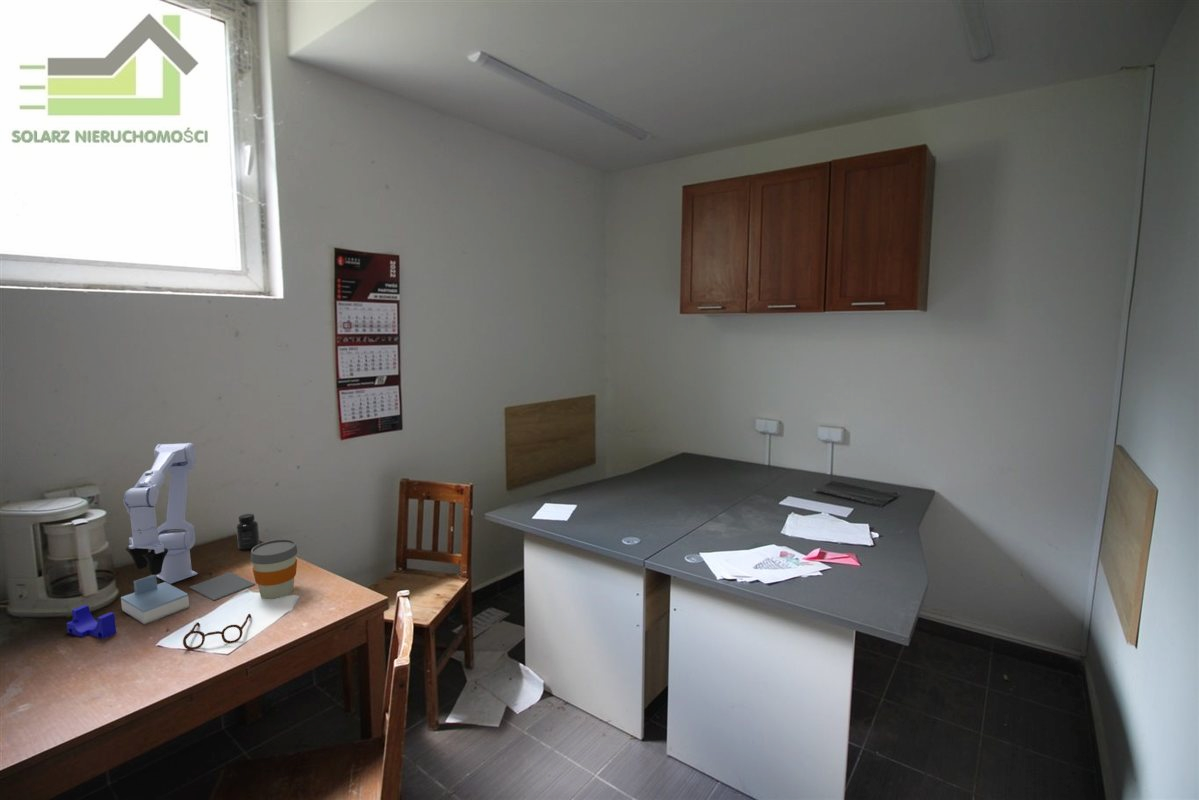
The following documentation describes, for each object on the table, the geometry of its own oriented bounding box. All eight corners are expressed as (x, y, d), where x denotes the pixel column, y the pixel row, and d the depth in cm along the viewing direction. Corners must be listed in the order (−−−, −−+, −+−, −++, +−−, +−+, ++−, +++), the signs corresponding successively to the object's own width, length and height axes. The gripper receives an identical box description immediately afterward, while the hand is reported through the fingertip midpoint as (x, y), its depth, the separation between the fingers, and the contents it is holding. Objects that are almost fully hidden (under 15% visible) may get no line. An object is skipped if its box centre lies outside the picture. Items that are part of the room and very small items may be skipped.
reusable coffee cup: (303, 580, 181) (300, 537, 179) (295, 599, 169) (292, 553, 167) (259, 585, 177) (256, 541, 175) (248, 605, 165) (244, 557, 163)
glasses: (183, 652, 143) (181, 634, 142) (198, 626, 154) (196, 609, 154) (242, 642, 147) (241, 625, 147) (252, 617, 159) (251, 601, 159)
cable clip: (67, 633, 149) (65, 612, 148) (87, 624, 154) (85, 604, 153) (97, 642, 146) (94, 621, 145) (116, 633, 150) (114, 613, 149)
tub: (122, 610, 161) (120, 599, 160) (166, 594, 170) (165, 583, 170) (144, 624, 154) (143, 612, 153) (189, 606, 163) (188, 595, 163)
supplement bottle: (264, 543, 208) (261, 513, 207) (251, 550, 202) (248, 519, 200) (247, 542, 209) (244, 512, 207) (233, 549, 202) (230, 518, 201)
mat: (189, 588, 174) (189, 586, 174) (229, 573, 185) (229, 572, 184) (214, 601, 167) (214, 599, 167) (255, 584, 177) (254, 583, 177)
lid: (121, 602, 160) (119, 584, 160) (165, 586, 170) (163, 569, 169) (143, 616, 154) (141, 597, 153) (188, 599, 163) (186, 581, 162)
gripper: (114, 527, 161) (119, 570, 163) (141, 536, 155) (146, 582, 157) (143, 519, 167) (147, 561, 169) (170, 528, 161) (174, 571, 163)
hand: (149, 570), depth 163 cm, fingers open, 7 cm apart
